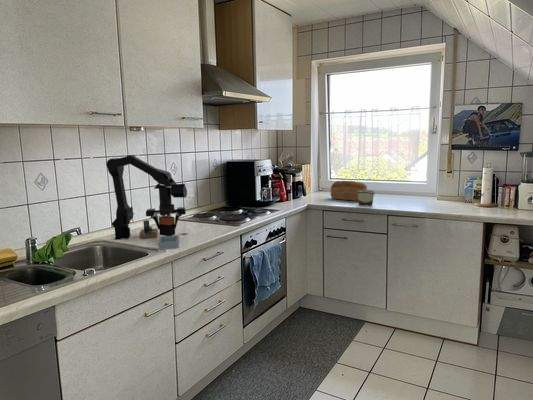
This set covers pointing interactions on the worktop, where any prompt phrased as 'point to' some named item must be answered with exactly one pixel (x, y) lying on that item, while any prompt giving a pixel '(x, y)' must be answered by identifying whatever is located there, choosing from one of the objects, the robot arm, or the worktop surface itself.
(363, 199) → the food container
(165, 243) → the tray
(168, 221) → the battery
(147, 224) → the crank
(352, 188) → the bread
